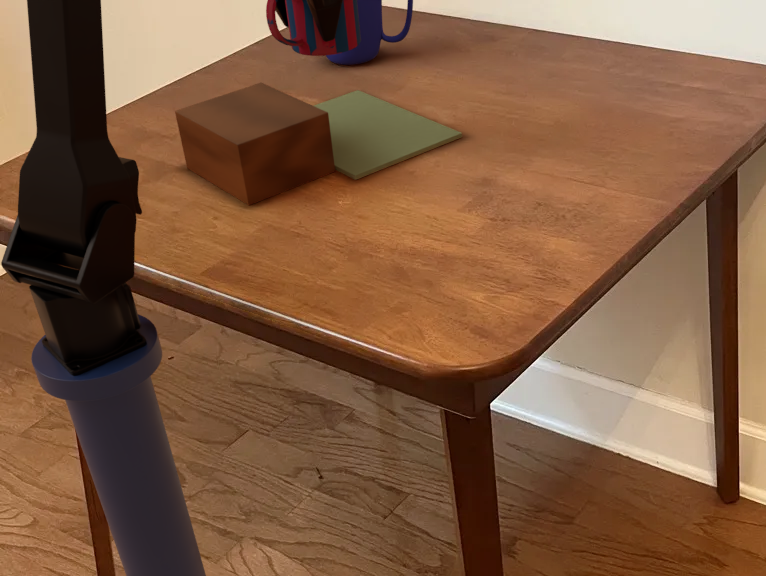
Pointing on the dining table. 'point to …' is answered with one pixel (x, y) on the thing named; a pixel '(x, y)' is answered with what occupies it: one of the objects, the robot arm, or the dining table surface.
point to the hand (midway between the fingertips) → (309, 33)
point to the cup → (315, 28)
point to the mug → (371, 33)
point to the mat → (378, 133)
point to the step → (256, 142)
